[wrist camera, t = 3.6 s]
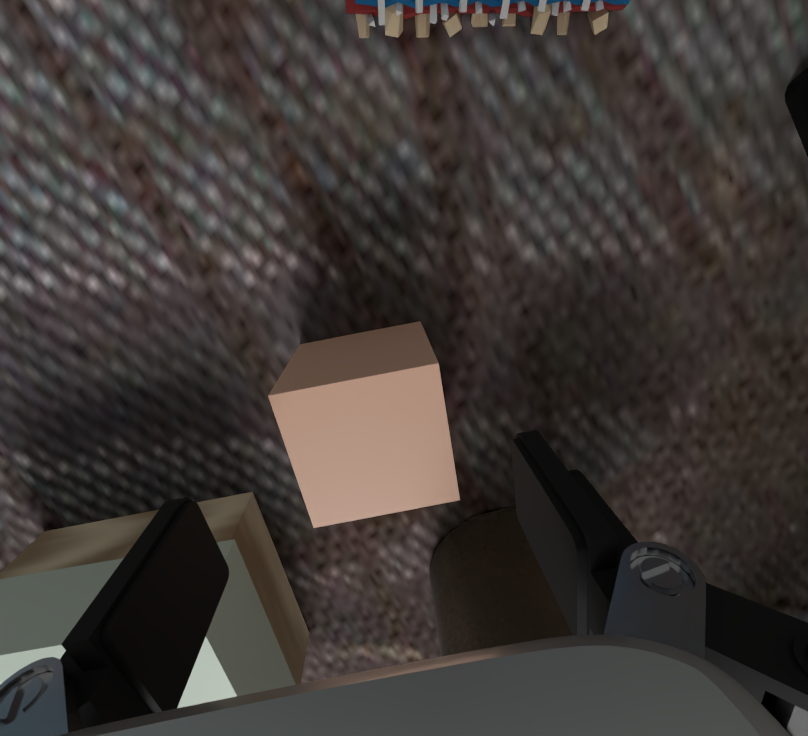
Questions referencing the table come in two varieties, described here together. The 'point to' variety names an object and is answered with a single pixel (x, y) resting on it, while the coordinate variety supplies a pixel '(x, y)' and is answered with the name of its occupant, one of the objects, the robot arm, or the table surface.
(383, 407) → the terracotta cube
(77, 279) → the table surface
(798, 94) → the end cap
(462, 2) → the woven mat
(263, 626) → the sage slab
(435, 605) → the pillar candle
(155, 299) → the table surface
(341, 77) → the table surface
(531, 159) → the table surface
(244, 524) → the birch slab
